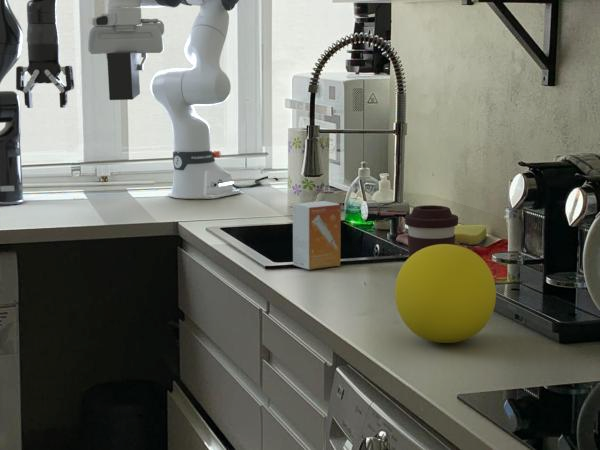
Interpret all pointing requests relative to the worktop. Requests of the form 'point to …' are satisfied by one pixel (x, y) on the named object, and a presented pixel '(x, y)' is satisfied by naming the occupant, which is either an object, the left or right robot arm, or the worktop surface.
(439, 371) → the worktop surface
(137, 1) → the right robot arm
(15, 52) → the left robot arm
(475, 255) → the toy
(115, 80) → the box
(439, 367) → the worktop surface
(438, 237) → the coffee cup
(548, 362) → the worktop surface
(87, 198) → the worktop surface
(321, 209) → the small box
